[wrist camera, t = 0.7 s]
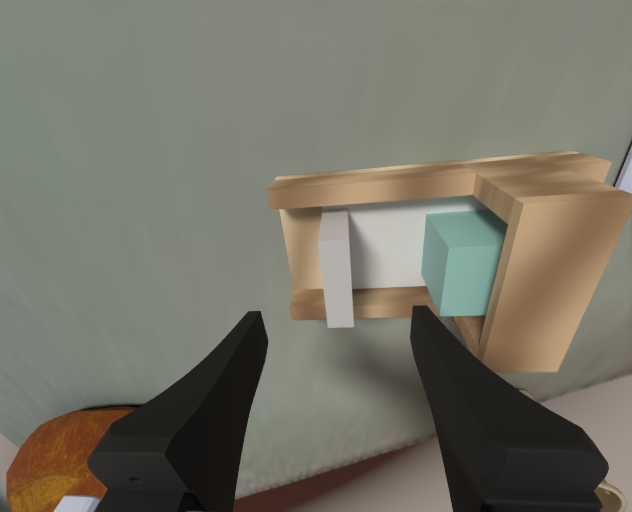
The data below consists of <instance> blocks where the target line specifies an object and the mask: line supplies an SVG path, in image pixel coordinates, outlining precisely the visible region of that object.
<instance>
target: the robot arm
mask: <svg viewBox="0 0 632 512" xmlns="http://www.w3.org/2000/svg"><path fill="white" fill-rule="evenodd" d="M615 188H618V189H621V190H623V191H626V192H629V193H631V194H632V146H631V149H630V151H629V153H628V156H627V158H626V161H625V163H624V166H623V168H622V170H621V173H620V175H619V178H618V180H617V183H616V185H615ZM410 340H411V345H412V350H413V354H414V359H415V362H416V365H417V368H418V371H419V374H420V377H421V380H422V383H423V386H424V389H425V392H426V395H427V398H428V401H429V404H430V407H431V411H432V414H433V418H434V423H435V427H436V431H437V436H438V440H439V444H440V449H441V453H442V458H443V463H444V467H445V473H446V478H447V482H448V487H449V492H450V498H451V503H452V508H453V512H601V511H600V510H599V509H602V508H603V506H602V503H601V501H600V500H599V498H598V496H597V495H596V493H595V492H594V491H595V489H596V488H597V487H598V486H599V484H600V483H601V482H602V481H603V479H604V478H605V477H606V475H607V473H608V470H609V466H608V462H607V461H606V459H605V458H604V457H603V455H602V454H601V453H600V451H599V449H598V448H597V447H596V445H595V444H594V442H593V441H592V440H591V439H590V437H589V436H588V435H587V434H586V433H585V431H584V430H583V429H582V428H581V427H579V426H577V425H575V424H574V423H572V422H570V421H568V420H567V419H565V418H563V417H561V416H559V415H558V414H556V413H554V412H552V411H550V410H549V409H547V408H545V407H544V406H542V405H541V404H539V403H537V402H536V401H534V400H533V399H531V398H529V397H528V396H526V395H525V394H523V393H522V392H520V391H519V390H517V389H516V388H515V387H513V386H512V385H510V384H509V383H508V382H506V381H505V380H503V379H502V378H501V377H499V376H498V375H497V374H495V373H494V372H493V371H492V370H490V369H489V368H488V367H487V366H485V365H484V364H483V363H482V362H481V361H480V360H478V359H477V358H476V357H475V356H474V355H473V354H472V353H471V352H470V351H469V350H468V349H466V348H465V347H464V346H463V345H462V344H461V343H460V342H459V341H458V340H457V339H456V338H455V336H454V335H453V334H452V333H451V332H450V331H449V330H448V329H447V328H446V327H445V326H444V325H443V324H442V322H441V321H440V320H439V319H438V318H437V317H436V315H435V314H434V313H433V312H432V311H431V309H430V308H429V307H428V306H427V305H418V306H413V308H412V321H411V334H410ZM267 347H268V338H267V334H266V330H265V326H264V323H263V319H262V315H261V311H248V313H247V314H246V315H245V316H244V317H243V318H242V319H241V320H240V321H239V323H238V324H237V325H236V326H235V327H234V328H233V329H232V331H231V332H230V333H229V334H228V335H227V336H226V337H225V338H224V339H223V340H222V342H221V343H220V344H219V345H218V346H217V347H216V348H215V349H214V350H213V351H212V352H211V353H210V354H209V355H208V356H207V357H206V358H205V359H204V360H203V361H201V362H200V363H199V364H198V365H197V366H196V367H195V368H193V369H192V370H191V371H190V372H189V373H187V374H186V375H185V376H184V377H182V378H181V379H180V380H178V381H177V382H176V383H174V384H173V385H172V386H170V387H169V388H168V389H166V390H165V391H164V392H162V393H161V394H159V395H158V396H156V397H155V398H153V399H152V400H150V401H148V402H147V403H145V404H144V405H142V406H141V407H139V408H137V409H135V410H134V411H132V412H130V413H129V414H127V415H125V416H123V417H122V418H120V419H118V420H116V421H114V422H113V423H112V424H111V425H110V426H109V428H108V429H107V431H106V432H105V434H104V435H103V437H102V438H101V440H100V441H99V442H98V444H97V445H96V447H95V448H94V450H93V451H92V453H91V454H90V456H89V457H88V460H87V464H88V468H89V470H90V471H91V472H92V473H93V474H94V475H95V476H96V477H97V478H98V479H99V481H100V482H101V483H102V484H103V485H104V486H105V487H106V488H107V489H108V490H107V491H106V493H105V495H104V497H103V498H102V499H101V498H98V497H95V496H83V495H66V496H64V497H63V498H62V500H61V501H60V503H59V504H58V506H57V507H56V509H55V510H54V512H232V511H233V505H234V498H235V491H236V484H237V477H238V471H239V465H240V459H241V453H242V448H243V443H244V437H245V432H246V427H247V422H248V417H249V413H250V409H251V405H252V402H253V399H254V396H255V392H256V389H257V386H258V383H259V379H260V376H261V373H262V370H263V366H264V363H265V358H266V353H267Z"/></svg>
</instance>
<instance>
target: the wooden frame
mask: <svg viewBox="0 0 632 512" xmlns="http://www.w3.org/2000/svg"><path fill="white" fill-rule="evenodd" d="M611 163H612V162H611V161H607V160H603V159H600V158H596V157H593V156H589V155H586V154H582V153H578V152H575V151H561V152H549V153H538V154H527V155H516V156H504V157H493V158H482V159H471V160H460V161H448V162H437V163H426V164H415V165H403V166H392V167H381V168H370V169H359V170H347V171H336V172H325V173H314V174H302V175H291V176H280V177H276V178H275V180H274V181H273V182H272V184H271V185H270V187H269V188H268V189H267V196H268V201H269V206H270V210H280V216H281V221H282V227H283V232H284V238H285V243H286V249H287V254H288V260H289V266H290V271H291V277H292V282H293V288H294V291H293V296H292V300H291V304H290V313H291V318H292V320H321V319H327V315H326V307H325V298H324V290H323V281H322V273H321V264H320V256H319V247H318V237H319V231H320V224H321V218H322V211H323V209H322V206H332V205H346V204H359V203H372V202H385V201H399V200H412V199H425V198H439V197H452V196H465V195H473V196H474V197H476V198H477V199H478V200H479V201H480V202H482V203H483V204H484V205H485V206H486V207H488V208H489V209H490V210H491V211H492V212H494V213H495V214H496V215H497V216H498V217H500V218H501V219H502V220H503V221H505V222H506V223H507V224H508V228H507V232H506V236H505V240H504V244H503V249H502V253H501V257H500V261H499V265H498V269H497V273H496V277H495V282H494V286H493V290H492V294H491V298H490V302H489V306H488V310H487V314H486V315H478V316H453V318H454V320H455V322H456V324H457V326H458V328H459V331H460V333H461V335H462V337H463V339H464V341H465V343H466V345H467V347H468V349H469V351H470V352H471V353H472V354H473V355H474V356H475V357H476V358H477V359H478V360H480V361H481V362H482V363H483V364H484V365H485V366H487V367H488V368H489V369H490V370H492V371H493V372H557V371H558V369H559V367H560V365H561V362H562V360H563V358H564V356H565V354H566V352H567V349H568V347H569V345H570V343H571V341H572V339H573V336H574V334H575V332H576V330H577V328H578V326H579V323H580V321H581V319H582V317H583V315H584V312H585V310H586V308H587V306H588V304H589V302H590V299H591V297H592V295H593V293H594V291H595V289H596V286H597V284H598V282H599V280H600V278H601V276H602V273H603V271H604V269H605V267H606V265H607V263H608V260H609V258H610V256H611V254H612V252H613V250H614V247H615V245H616V243H617V241H618V239H619V237H620V234H621V232H622V230H623V228H624V226H625V223H626V221H627V219H628V217H629V215H630V213H631V210H632V194H631V193H629V192H626V191H623V190H621V189H618V188H615V187H613V186H610V185H607V184H604V181H605V178H606V175H607V173H608V170H609V168H610V165H611ZM352 298H353V317H354V319H356V318H391V317H412V308H413V306H418V305H427V306H428V307H429V308H430V309H431V311H432V312H433V313H434V314H435V315H436V316H439V314H438V312H437V310H436V307H435V305H434V303H433V300H432V298H431V296H430V293H429V291H428V289H427V286H415V287H390V288H365V289H352Z"/></svg>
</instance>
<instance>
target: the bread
mask: <svg viewBox="0 0 632 512" xmlns="http://www.w3.org/2000/svg"><path fill="white" fill-rule="evenodd" d="M135 409H137V408H136V407H127V406H119V407H110V408H100V409H90V410H81V411H73V412H71V413H68V414H65V415H63V416H60V417H57V418H55V419H52V420H50V421H48V422H46V423H44V424H42V425H40V426H39V427H38V428H37V429H36V430H35V431H34V432H33V433H32V434H31V435H30V436H29V438H28V439H27V440H26V441H25V442H24V444H23V445H22V446H21V448H20V450H19V452H18V453H17V455H16V457H15V459H14V461H13V462H12V464H11V466H10V468H9V469H8V471H7V499H8V502H9V505H10V509H11V512H54V510H55V509H56V507H57V506H58V504H59V503H60V501H61V500H62V498H63V497H64V496H66V495H83V496H95V497H98V498H101V499H102V498H103V497H104V495H105V493H106V491H107V490H108V489H107V488H106V487H105V486H104V485H103V484H102V483H101V482H100V481H99V479H98V478H97V477H96V476H95V475H94V474H93V473H92V472H91V471H90V470H89V468H88V464H87V460H88V457H89V456H90V454H91V453H92V451H93V450H94V448H95V447H96V445H97V444H98V442H99V441H100V440H101V438H102V437H103V435H104V434H105V432H106V431H107V429H108V428H109V426H110V425H111V424H112V423H113V422H114V421H116V420H118V419H120V418H122V417H123V416H125V415H127V414H129V413H130V412H132V411H134V410H135Z"/></svg>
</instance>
